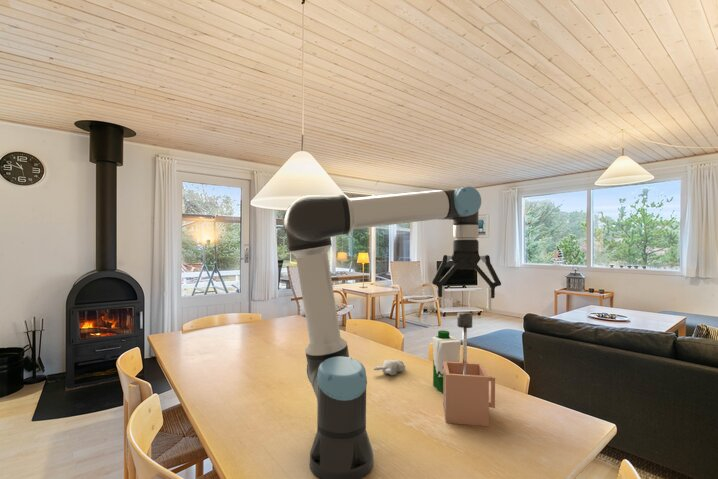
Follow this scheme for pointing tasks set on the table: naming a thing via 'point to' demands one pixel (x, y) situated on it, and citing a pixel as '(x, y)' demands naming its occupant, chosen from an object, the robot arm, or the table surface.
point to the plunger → (464, 334)
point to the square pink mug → (467, 393)
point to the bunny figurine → (391, 367)
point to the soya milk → (443, 355)
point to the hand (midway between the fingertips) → (465, 308)
